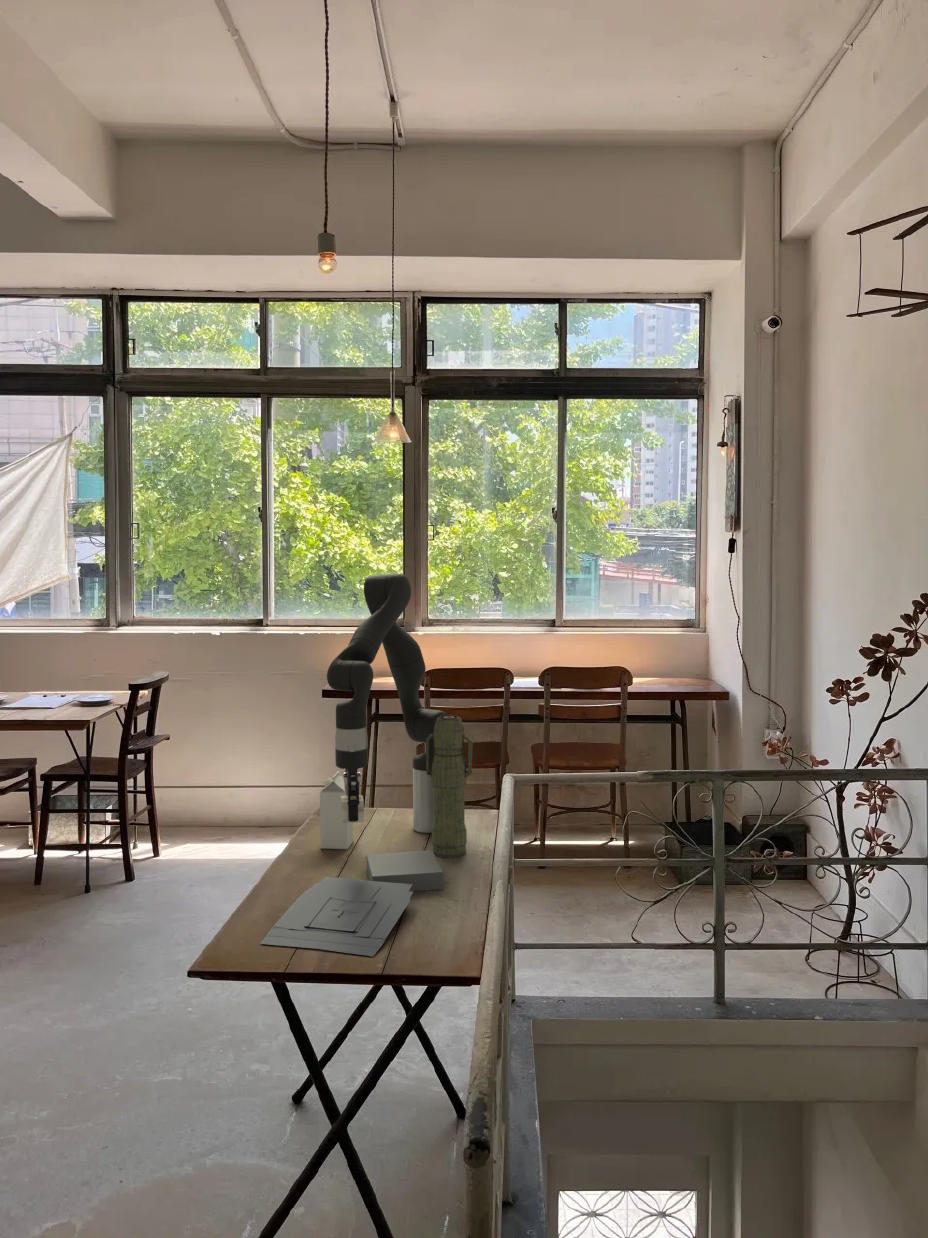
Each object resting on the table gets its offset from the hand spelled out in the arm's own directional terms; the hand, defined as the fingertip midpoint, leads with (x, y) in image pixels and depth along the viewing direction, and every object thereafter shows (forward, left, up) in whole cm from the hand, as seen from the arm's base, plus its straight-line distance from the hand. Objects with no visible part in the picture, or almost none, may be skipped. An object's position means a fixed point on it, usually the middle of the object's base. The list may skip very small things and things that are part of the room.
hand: (352, 817), depth 230 cm
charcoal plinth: (+2, +12, -15) cm, 19 cm away
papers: (+25, -4, -15) cm, 30 cm away
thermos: (-16, +26, -15) cm, 34 cm away
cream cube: (0, 0, 0) cm, 0 cm away
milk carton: (-27, -2, -15) cm, 31 cm away
